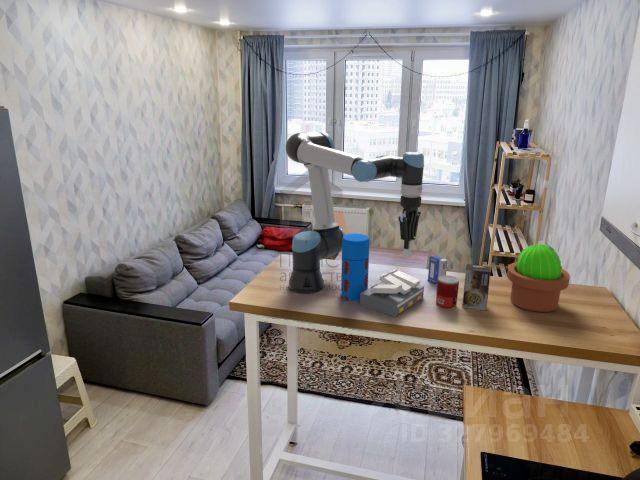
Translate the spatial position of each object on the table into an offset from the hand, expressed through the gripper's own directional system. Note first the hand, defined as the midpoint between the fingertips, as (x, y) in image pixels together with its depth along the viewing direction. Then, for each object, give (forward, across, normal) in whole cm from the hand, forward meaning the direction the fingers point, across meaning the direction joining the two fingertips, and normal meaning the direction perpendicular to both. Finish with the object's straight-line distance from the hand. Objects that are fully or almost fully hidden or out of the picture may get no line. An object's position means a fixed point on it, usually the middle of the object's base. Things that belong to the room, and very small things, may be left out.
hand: (407, 256), depth 177 cm
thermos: (+21, -5, +20) cm, 29 cm away
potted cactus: (+21, +35, -38) cm, 56 cm away
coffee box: (+21, +17, -22) cm, 34 cm away
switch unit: (+20, 0, +6) cm, 21 cm away
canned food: (+21, +11, -12) cm, 26 cm away
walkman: (+21, +29, 0) cm, 36 cm away
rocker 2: (+12, 0, +4) cm, 13 cm away
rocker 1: (+12, -7, +4) cm, 15 cm away
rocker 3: (+12, +7, +4) cm, 15 cm away
